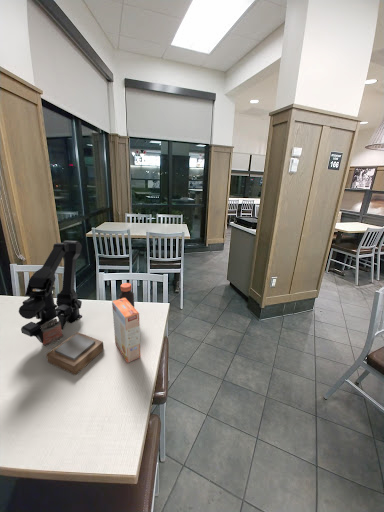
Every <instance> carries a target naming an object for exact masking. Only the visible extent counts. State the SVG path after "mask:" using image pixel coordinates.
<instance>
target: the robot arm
mask: <svg viewBox="0 0 384 512" xmlns="http://www.w3.org/2000/svg"><path fill="white" fill-rule="evenodd" d="M52 247H53V248H52V250H51V252H49V255H48V256H47V258H46V260H45V262H44V263H43V265H42V266H41V268H40V269H38V270H36V271H35V272H33V273H32V276H30V278H29V280H28V283H27V287H26V291H25V294H24V295H25V297H28V298H27V299H26V300H25V299H24V300H23V301H22V304H21V305H20V307H19V308H18V314H19V315H20V316H21V317H22V318H24V319H27V320H32V319H33V318H35V319H36V320H39V321H37V322H33V321H29V322H28V323H26V324H25V325H23V326H21V329H20V330H21V333H22V334H24V335H26V336H28V337H35V338H36V339H37V340H38V342H39V343H41V344H42V343H43V331H41V326H43V325H44V324H46V323H48V322H49V321H51V320H53V319H56V318H57V320H58V321H60V322H61V329H62V331H63V330H64V328H65V325H66V323H68V324H73V323H75V322H76V321H78V320H79V319H81V318H82V317H83V315H82V314H80V309H81V308H82V304H83V303H82V300H80V299H79V298H78V293H77V292H76V290H75V282H76V267H77V259H78V258H79V256H80V255H81V251H82V249H83V246H82V243H80V241H78V240H64V241H62V242H56V243H54V244H53V246H52ZM63 259H64V263H63V277H62V288H61V290H60V292H59V293H57V295H56V301H55V299H54V294H53V291H54V290H55V289H56V287H55V286H54V285H55V281H56V275H55V274H56V271H57V269H58V268H59V266H60V264H61V262H62V260H63ZM55 302H56V304H55Z"/></svg>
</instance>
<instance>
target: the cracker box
mask: <svg viewBox="0 0 384 512" xmlns="http://www.w3.org/2000/svg"><path fill="white" fill-rule="evenodd" d="M111 304H112V317H113V331H114V341H115V345H116V346H117V348H118V350H119V351H120V354H121V355H122V357H123V358H124V360H125V361H126V363H127V364H128V363H131V362H133V361H135V360H137V359H139V358H141V331H140V313H139V311H138V310H137V308H135V306H134V307H133V306H132V305H131V304H130V302H129V301H128V300H127V299H126V298H122V299H119V298H118V299H115V300H112V301H111Z"/></svg>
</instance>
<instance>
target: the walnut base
mask: <svg viewBox="0 0 384 512" xmlns="http://www.w3.org/2000/svg"><path fill="white" fill-rule="evenodd" d="M104 350H105V349H104V342H103V341H102V340H100V339H98V338H94V337H92V336H89V335H86V334H83V333H81V332H78V331H76V332H75V333H73V334H72V335H70V337H68V338H66V339H65V340H64V341H63V342H61V343H60V344H59V345H57V346H56V347H54V348H52V349H51V350H50V351H48V352H47V353H46V359H47V362H48V364H51V365H53V366H54V367H55V366H56V367H57V368H59V369H62V370H64V371H66V372H68V373H70V374H72V375H74V376H76V375H77V374H78V373H79V372H81V371H82V370H83V369H84V368H86V366H87V365H88V364H89V363H90V362H92V361H93V360H94V359H95V358H96V357H97V356H98V355H99V354H100V353H102V351H104Z"/></svg>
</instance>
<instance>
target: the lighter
mask: <svg viewBox="0 0 384 512" xmlns="http://www.w3.org/2000/svg"><path fill="white" fill-rule="evenodd" d="M41 331H43V343H41V344H42V345H41V346H42V347H47V346H51V345H53V344H55V343H56V342H58V341H60V340H61V339H63V338H64V334H63V330H62V329H61V322H60V321H59V320H58V318H54V319H53V320H51V321H49V322H48V323H46V324H44V325H43V326H41Z"/></svg>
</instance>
